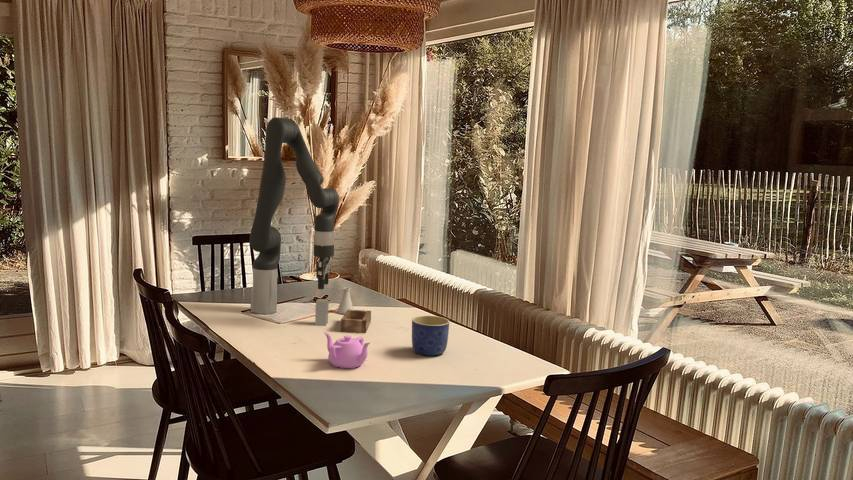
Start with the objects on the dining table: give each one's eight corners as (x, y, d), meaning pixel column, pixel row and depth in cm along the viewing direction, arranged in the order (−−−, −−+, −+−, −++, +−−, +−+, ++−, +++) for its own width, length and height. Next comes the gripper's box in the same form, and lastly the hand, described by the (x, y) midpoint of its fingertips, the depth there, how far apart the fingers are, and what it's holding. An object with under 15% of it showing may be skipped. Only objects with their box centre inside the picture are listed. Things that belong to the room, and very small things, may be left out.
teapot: (369, 370, 213) (370, 341, 212) (323, 370, 211) (324, 341, 209) (366, 357, 224) (368, 330, 223) (323, 357, 222) (323, 330, 221)
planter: (420, 359, 225) (422, 326, 224) (404, 348, 236) (405, 316, 235) (454, 355, 231) (456, 323, 230) (436, 345, 242) (438, 314, 240)
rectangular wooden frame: (340, 331, 252) (341, 319, 251) (347, 320, 267) (347, 309, 266) (365, 333, 252) (366, 321, 251) (370, 322, 267) (371, 310, 266)
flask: (356, 311, 283) (357, 286, 281) (352, 315, 276) (353, 290, 274) (338, 309, 283) (339, 285, 282) (334, 314, 276) (335, 289, 275)
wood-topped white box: (315, 325, 259) (315, 301, 258) (317, 322, 263) (318, 298, 262) (325, 325, 259) (326, 302, 258) (327, 323, 263) (328, 299, 261)
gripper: (317, 239, 264) (316, 282, 266) (309, 245, 250) (309, 290, 252) (337, 240, 263) (336, 283, 266) (330, 246, 249) (329, 291, 252)
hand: (323, 286), depth 259 cm, fingers open, 8 cm apart
